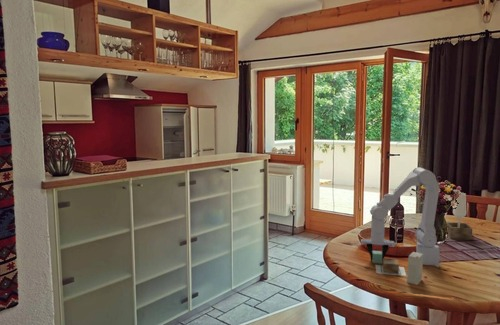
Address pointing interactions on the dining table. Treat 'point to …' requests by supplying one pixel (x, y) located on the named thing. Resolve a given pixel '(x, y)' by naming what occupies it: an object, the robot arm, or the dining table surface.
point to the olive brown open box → (459, 230)
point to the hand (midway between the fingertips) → (377, 260)
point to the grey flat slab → (380, 270)
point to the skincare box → (415, 268)
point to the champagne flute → (460, 208)
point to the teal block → (376, 256)
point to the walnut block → (390, 265)
